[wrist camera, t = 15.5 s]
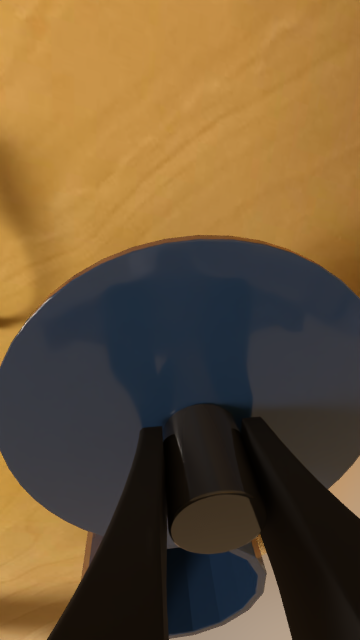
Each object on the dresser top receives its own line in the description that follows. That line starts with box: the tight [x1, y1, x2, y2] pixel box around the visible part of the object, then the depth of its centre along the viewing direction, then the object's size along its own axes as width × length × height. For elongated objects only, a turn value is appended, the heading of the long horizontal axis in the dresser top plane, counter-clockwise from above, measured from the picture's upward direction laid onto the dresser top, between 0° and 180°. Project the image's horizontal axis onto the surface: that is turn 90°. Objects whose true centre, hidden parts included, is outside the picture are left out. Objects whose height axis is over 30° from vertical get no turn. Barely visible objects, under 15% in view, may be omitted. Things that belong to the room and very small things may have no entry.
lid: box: [0, 235, 360, 554], centre depth 10 cm, size 13×13×4 cm
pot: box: [81, 531, 266, 639], centre depth 25 cm, size 12×12×6 cm
